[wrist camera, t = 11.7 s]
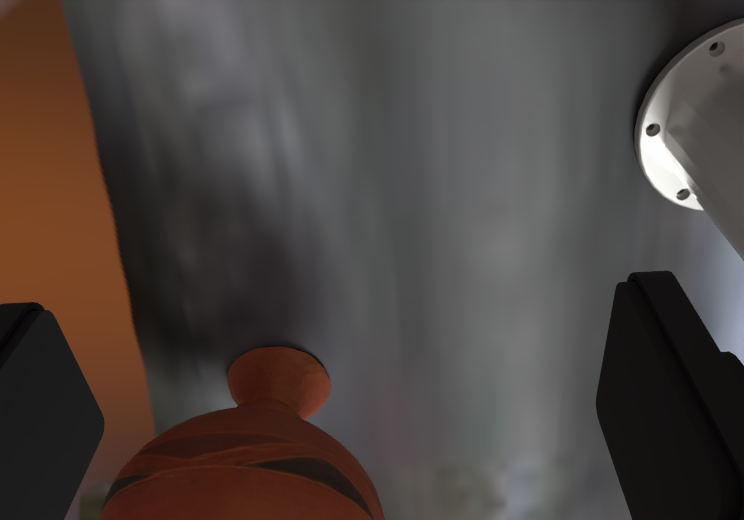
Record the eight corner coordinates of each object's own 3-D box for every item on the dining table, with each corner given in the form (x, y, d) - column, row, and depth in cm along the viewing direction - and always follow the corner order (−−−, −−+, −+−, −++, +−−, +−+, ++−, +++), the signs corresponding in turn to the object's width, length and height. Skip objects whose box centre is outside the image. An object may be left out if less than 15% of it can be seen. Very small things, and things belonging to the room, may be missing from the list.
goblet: (131, 399, 56) (-16, 730, 36) (229, 255, 47) (104, 595, 27) (314, 477, 62) (276, 800, 42) (433, 363, 53) (459, 709, 33)
